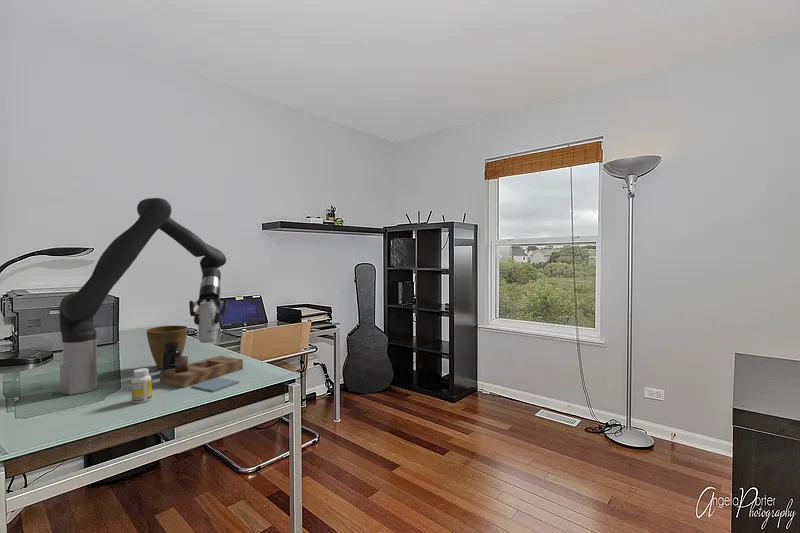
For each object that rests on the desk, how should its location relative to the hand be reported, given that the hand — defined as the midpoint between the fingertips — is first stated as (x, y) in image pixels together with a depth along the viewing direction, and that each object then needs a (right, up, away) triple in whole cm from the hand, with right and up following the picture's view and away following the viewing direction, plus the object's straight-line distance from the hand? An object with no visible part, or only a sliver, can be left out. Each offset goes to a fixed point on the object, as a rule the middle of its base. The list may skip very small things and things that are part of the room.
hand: (206, 323), depth 156 cm
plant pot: (-22, -20, +13) cm, 32 cm away
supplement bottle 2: (-15, -20, +2) cm, 25 cm away
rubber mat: (+9, -20, -11) cm, 25 cm away
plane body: (-1, -20, 0) cm, 20 cm away
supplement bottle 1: (-8, -21, -27) cm, 35 cm away
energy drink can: (-1, -7, +2) cm, 8 cm away
